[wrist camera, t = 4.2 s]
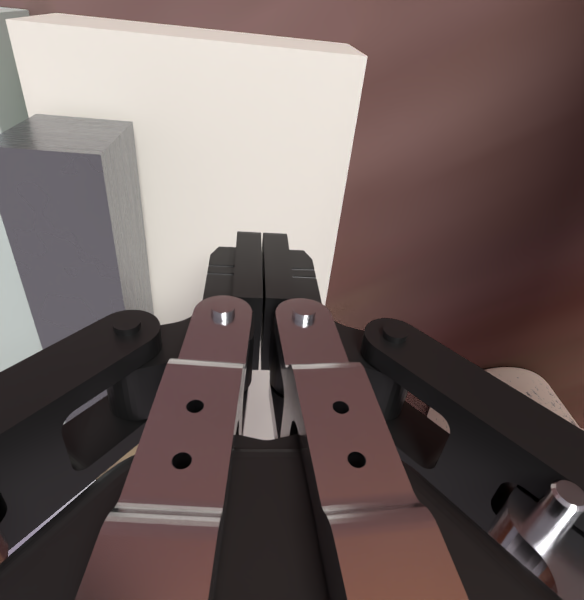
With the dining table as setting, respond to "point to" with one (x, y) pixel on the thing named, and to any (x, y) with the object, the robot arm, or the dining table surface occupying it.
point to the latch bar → (75, 223)
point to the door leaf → (3, 271)
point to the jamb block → (208, 139)
